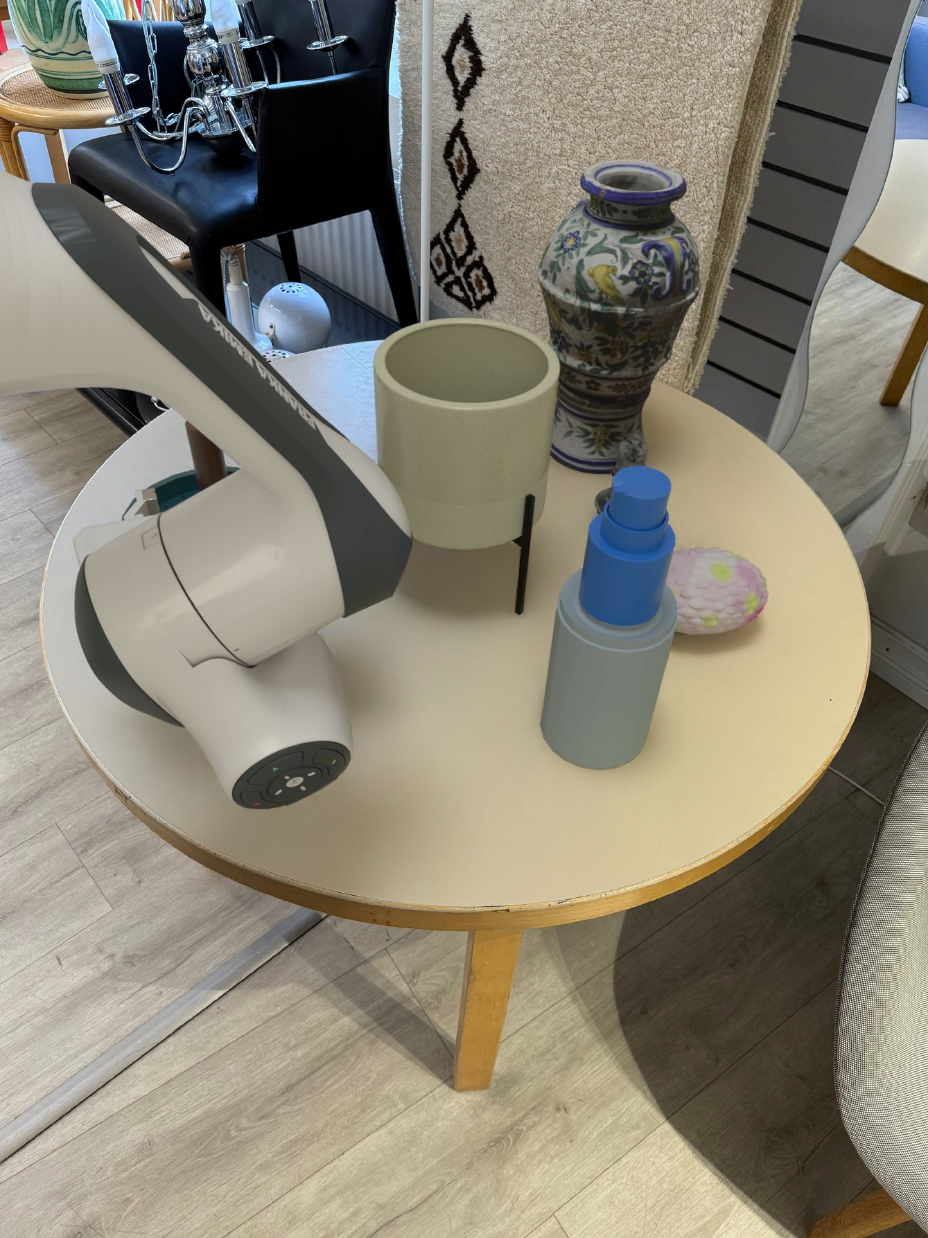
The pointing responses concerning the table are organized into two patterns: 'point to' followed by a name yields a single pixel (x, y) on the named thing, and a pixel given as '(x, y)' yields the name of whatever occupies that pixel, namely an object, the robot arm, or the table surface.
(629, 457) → the salt shaker
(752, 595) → the decorative item
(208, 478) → the post on square base
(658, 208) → the vase
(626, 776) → the table surface
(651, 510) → the spray bottle
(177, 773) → the table surface
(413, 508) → the planter
